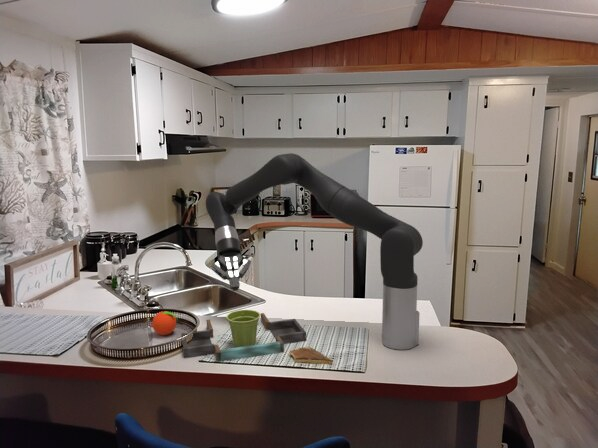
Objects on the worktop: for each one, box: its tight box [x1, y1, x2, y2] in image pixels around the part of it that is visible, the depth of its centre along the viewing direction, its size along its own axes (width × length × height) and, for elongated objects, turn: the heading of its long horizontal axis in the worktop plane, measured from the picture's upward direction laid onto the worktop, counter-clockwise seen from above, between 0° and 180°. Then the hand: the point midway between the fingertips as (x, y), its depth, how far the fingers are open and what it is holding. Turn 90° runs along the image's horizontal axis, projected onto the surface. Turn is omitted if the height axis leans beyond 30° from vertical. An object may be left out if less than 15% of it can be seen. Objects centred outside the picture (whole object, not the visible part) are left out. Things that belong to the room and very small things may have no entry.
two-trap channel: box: [180, 312, 307, 362], centre depth 133 cm, size 34×24×2 cm
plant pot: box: [225, 309, 261, 348], centre depth 128 cm, size 9×9×9 cm
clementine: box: [151, 310, 179, 336], centre depth 137 cm, size 8×7×7 cm
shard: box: [288, 346, 334, 365], centre depth 119 cm, size 11×8×2 cm
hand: (235, 289), depth 141 cm, fingers closed
